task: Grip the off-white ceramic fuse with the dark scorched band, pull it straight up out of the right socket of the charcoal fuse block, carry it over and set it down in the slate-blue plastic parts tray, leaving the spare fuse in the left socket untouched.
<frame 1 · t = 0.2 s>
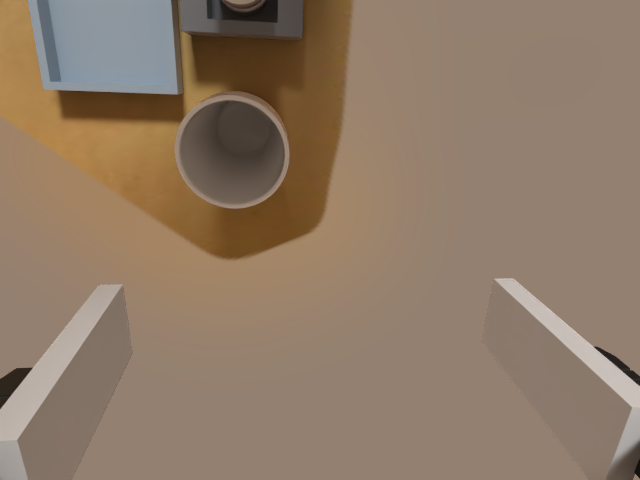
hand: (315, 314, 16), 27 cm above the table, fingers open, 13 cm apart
drinking glass: (245, 125, 39), on the table
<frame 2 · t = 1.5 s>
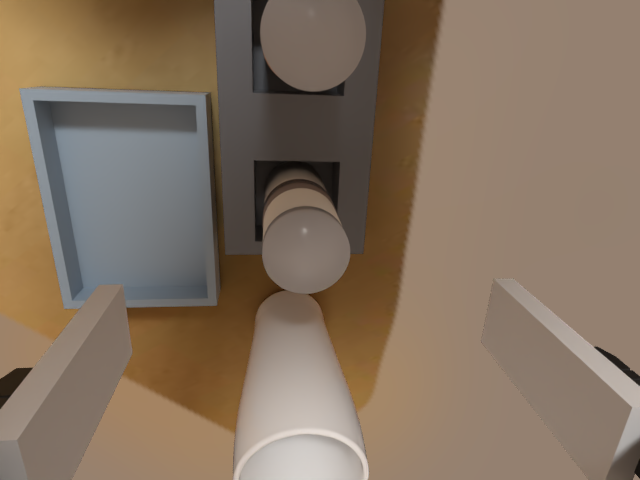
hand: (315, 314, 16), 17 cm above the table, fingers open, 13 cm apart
spare fuse: (296, 46, 27), point 1 cm above the table, touching fuse block
parts tray: (140, 198, 30), on the table
blown fuse: (294, 189, 30), point 1 cm above the table, touching fuse block
drinking glass: (288, 315, 35), on the table
fuse block: (294, 120, 29), on the table
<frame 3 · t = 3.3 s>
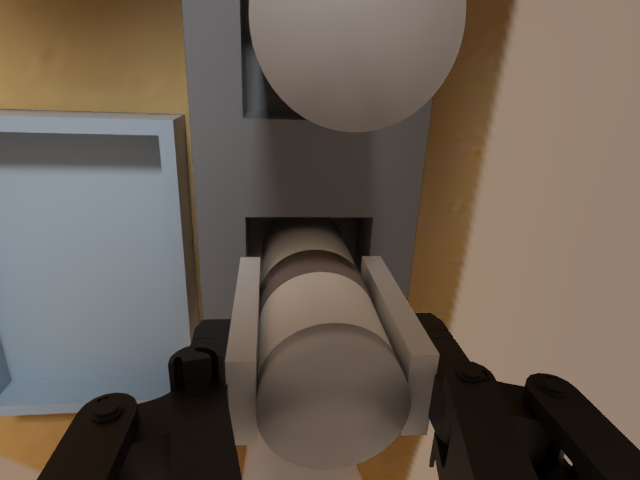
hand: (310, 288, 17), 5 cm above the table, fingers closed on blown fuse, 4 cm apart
spare fuse: (308, 48, 18), point 1 cm above the table, touching fuse block
parts tray: (88, 261, 21), on the table
blown fuse: (303, 248, 21), point 1 cm above the table, touching fuse block, gripper
drinking glass: (294, 404, 26), on the table
fuse block: (304, 152, 21), on the table
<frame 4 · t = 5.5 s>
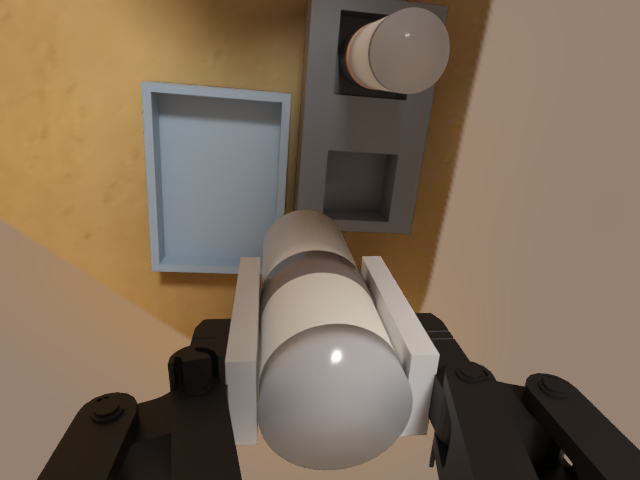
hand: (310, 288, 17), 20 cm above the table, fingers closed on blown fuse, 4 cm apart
spare fuse: (365, 58, 32), point 1 cm above the table, touching fuse block
parts tray: (220, 180, 35), on the table
blown fuse: (304, 249, 21), point 15 cm above the table, touching gripper
fuse block: (356, 119, 35), on the table
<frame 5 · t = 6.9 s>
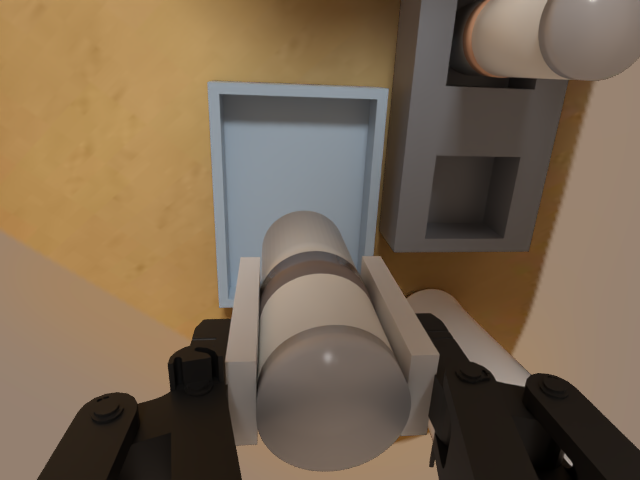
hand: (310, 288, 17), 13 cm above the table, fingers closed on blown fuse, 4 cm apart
spare fuse: (475, 39, 26), point 1 cm above the table, touching fuse block
parts tray: (295, 195, 29), on the table
blown fuse: (303, 249, 21), point 9 cm above the table, touching gripper
drinking glass: (424, 314, 34), on the table
fuse block: (456, 115, 29), on the table
when the fingers open (6 cm above the table, at t = 8.1 s): blown fuse drops 1 cm, resting on parts tray.
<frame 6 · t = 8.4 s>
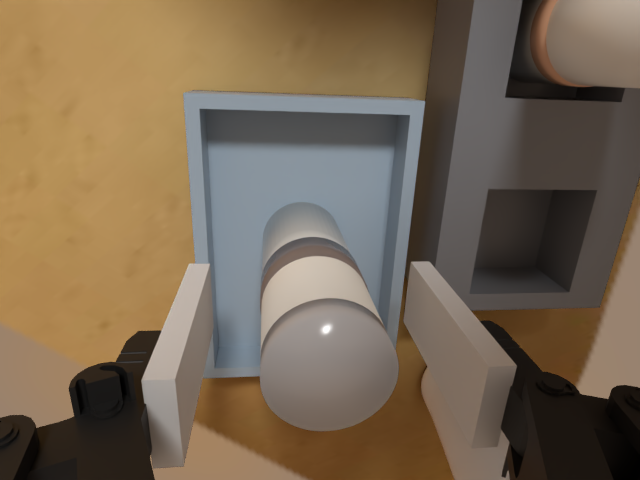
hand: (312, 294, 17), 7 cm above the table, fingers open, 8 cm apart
spare fuse: (536, 36, 20), point 1 cm above the table, touching fuse block
parts tray: (300, 234, 23), on the table
blown fuse: (301, 239, 23), point 1 cm above the table, touching parts tray
drinking glass: (457, 373, 28), on the table
fuse block: (506, 133, 22), on the table
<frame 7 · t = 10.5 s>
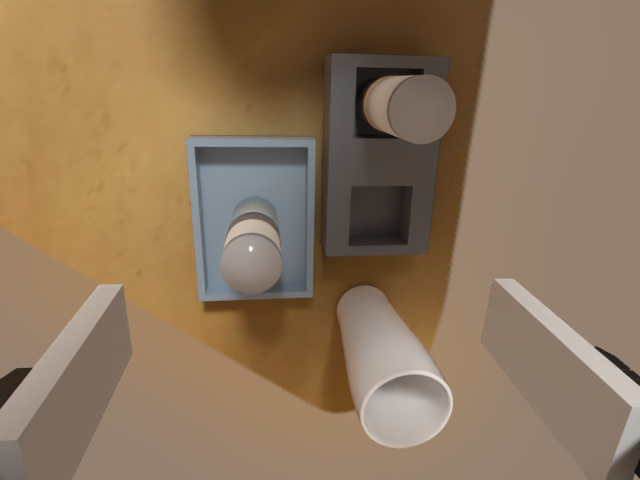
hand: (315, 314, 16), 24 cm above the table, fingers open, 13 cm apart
spare fuse: (378, 102, 36), point 1 cm above the table, touching fuse block
parts tray: (255, 216, 39), on the table
blown fuse: (255, 218, 39), point 1 cm above the table, touching parts tray
drinking glass: (361, 305, 44), on the table
fuse block: (372, 155, 39), on the table
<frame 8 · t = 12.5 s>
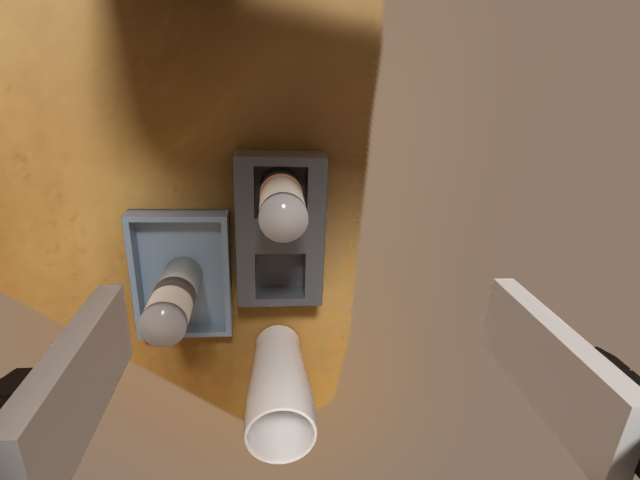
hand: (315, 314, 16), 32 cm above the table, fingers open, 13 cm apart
spare fuse: (280, 185, 45), point 1 cm above the table, touching fuse block
parts tray: (184, 270, 48), on the table
blown fuse: (183, 273, 48), point 1 cm above the table, touching parts tray
drinking glass: (277, 340, 53), on the table
fuse block: (279, 223, 48), on the table
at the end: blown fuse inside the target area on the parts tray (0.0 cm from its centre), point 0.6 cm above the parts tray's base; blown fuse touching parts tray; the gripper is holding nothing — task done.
